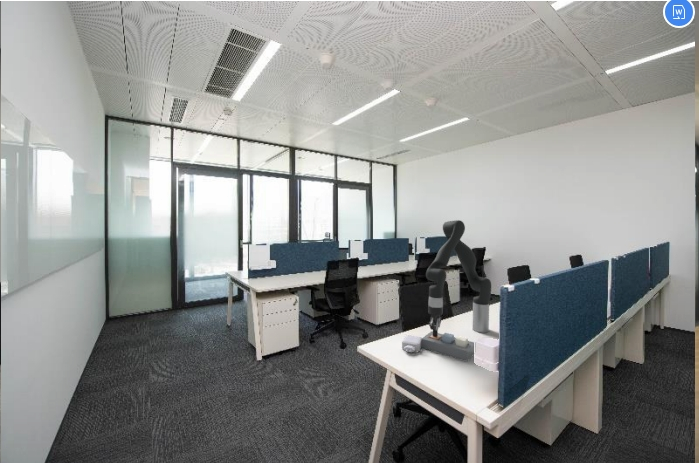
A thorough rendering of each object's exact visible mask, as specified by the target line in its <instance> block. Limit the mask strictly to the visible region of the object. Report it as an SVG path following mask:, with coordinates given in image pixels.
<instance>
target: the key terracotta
mask: <svg viewBox="0 0 699 463" xmlns="http://www.w3.org/2000/svg"><path fill="white" fill-rule="evenodd" d="M429 338H431V339H435V340H440V339H441V336H437V337H433V334H432V335H431V336H430V337H429Z"/></svg>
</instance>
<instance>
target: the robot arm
mask: <svg viewBox="0 0 699 463" xmlns="http://www.w3.org/2000/svg"><path fill="white" fill-rule="evenodd" d="M465 230H466V226H465V223H464V221H463V220H459V219H458V220H457V219H456V220H448V221H445V222H444V223H443V224H442V231H443V234H444V236H445V238H446V239H447V241H446V242H445V243H444V244H443V245H441V247H440V249H439V250H438V252H437V254H436V255H435V256H436V257H435V259H434V260H433V261H432V263H431V264H430V265H429V266H428V268H427V269H426V272H425V277H426V279H427V280H428V281H432V282H436V284H432V285H430V286H429V287H428V288H429V289H428V309H427V310H428V311H427V312H428V314H429V315H430V321H428V325H429V328H430V330H431V331H432V332H433V337H437V336H438V333H439V328H440V326H441V323H442V318H443V317H442V315H443V314H444V310H443V309H444V300H443V295H444V294H443V290H444V286H445V284H446V283H445V282H446V279H447V272H446V270H444V269H443V268H446V267H447V266H448V264H449V261H450V259H451V257H452V254H453V252H455V254H456V257H457V259H458V260H459V263H460V264H461V266H462V268H463V271H464V272H465V276H466V278H467V280H468V283H469V286H470V288H471V290H473V291H475V292H478V293H479V295H478V296H477V295H476V296H474V297H473V298H472V330H473V331H474V332H477V333H483V334H484V333H485V334H486V333H489V330H490V301H491V296H492V281H491V280H490V279H489V278H487V277H482V276H479V275H478V272H477V271H476V265H477V258H476V255H475V252H473V249H472V248H470V247H469V246H468V245H467V244H466V243H464V242H463V241H462V240H461V239H462V237H463V235H464V233H465Z"/></svg>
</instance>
